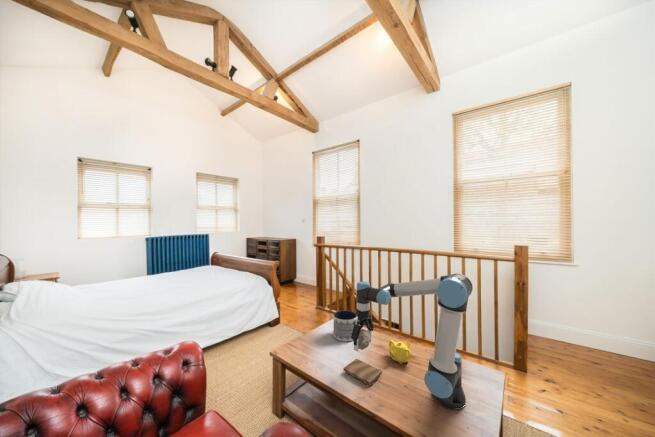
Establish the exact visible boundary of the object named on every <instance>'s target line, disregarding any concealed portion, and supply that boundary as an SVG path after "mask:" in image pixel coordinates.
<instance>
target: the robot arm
mask: <svg viewBox="0 0 655 437" xmlns="http://www.w3.org/2000/svg"><path fill="white" fill-rule="evenodd" d="M473 289H474V288H473V283H472V281H471V279H470V278H469V277H467V276H466V275H465V274H462V273H452V274H447V275H441V276H440V277H439V278H432V279H424V280H415V281H407V282H406V281H405V282H404V281H403V282H397V283H396V282H395V283H393V282H391V283H387V284H385V285H382V286H381V287H378V288H376V287H371V285H370V282H368V281H358V282H357V283H356V290H355V291H356V312H355V313H356V315H357V321H356V320H355V321H354V327H353V331H352V335H351V339H353V341H352V342H353V351H355V352H357V353H358V352H359V349H358V336H359V334H360V331H361V329H364V326H365V327H366V328H367V330H366V331H367V332H368V333H369V334H370V342H369V343H372V332H373V331H374V329H375V326H374V323H373V321H372V320H373V319H372V315H371V314H370V309H371V308H370V307H371V306H370V305H371V304H370V303H371V302H373V303H376V304H379V305H383V306H387V305H389V303H390V302H391V298H398V297H399V298H401V297H402V298H403V297H413V296H426V295H436V296H437V306H439V307H440V310H439V315H438V316H439V317H438V323H437V330H436V337H435V343H434V350H433V355H431V356H430V357H429V359H428V360H429V361H428V366H427V367H428V368H427V371H426V372H425V373H424V378H423V381H424V384H425V386H426V388H427V390H428V391H429V392H430V393H431V394H432V397H433V399H434V400H435V401H436V402H437V403H439V404H440V405H442V406H444V407H446V408H449V409H452V408H460V409H462V408H461V407H463V406H464V405H465V406H466V404H465V403H466V402H467V400H466V399H467V398H466V394H465V392H464V389H463V385H462V382H463V381H462V379H463V376H462V372H463V371H462V370H463V369H462V366H463V364H462V363H463V361H462V356H461V354H460V353H457V347H458V346H457V345H458V341H459V340H458V339H459V334H460V328H461V321H462V314H465V313H466V312H467V309H468V302H469V297H470V296H471V295H472V292H473ZM465 406H464V407H465ZM464 407H463V408H464Z"/></svg>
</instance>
